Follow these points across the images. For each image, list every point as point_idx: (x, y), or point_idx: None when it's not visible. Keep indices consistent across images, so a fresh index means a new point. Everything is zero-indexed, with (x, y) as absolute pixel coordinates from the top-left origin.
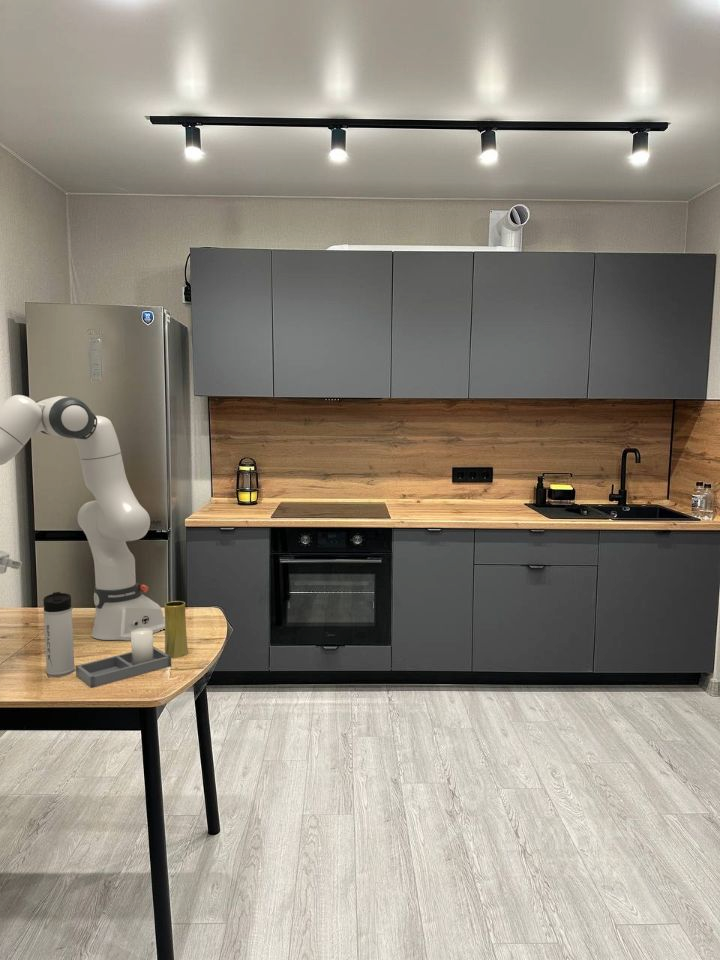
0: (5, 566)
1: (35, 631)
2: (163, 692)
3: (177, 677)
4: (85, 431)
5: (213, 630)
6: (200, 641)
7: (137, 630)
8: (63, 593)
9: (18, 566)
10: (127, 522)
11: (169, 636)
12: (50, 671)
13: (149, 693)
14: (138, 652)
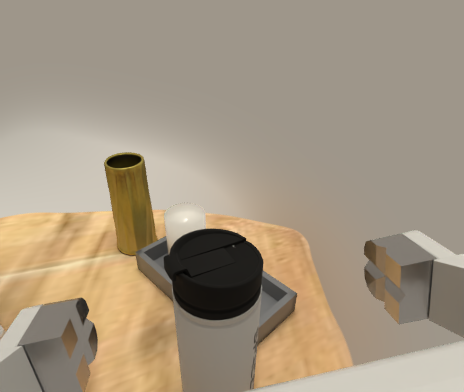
0: (385, 237)
1: None
2: (281, 228)
3: (228, 225)
4: None
5: (18, 224)
6: (72, 229)
7: (179, 219)
8: (173, 248)
9: (88, 328)
10: None
11: (148, 213)
12: None
13: (287, 239)
14: None
